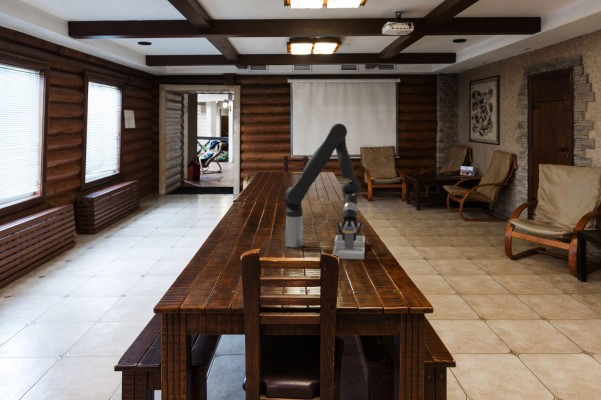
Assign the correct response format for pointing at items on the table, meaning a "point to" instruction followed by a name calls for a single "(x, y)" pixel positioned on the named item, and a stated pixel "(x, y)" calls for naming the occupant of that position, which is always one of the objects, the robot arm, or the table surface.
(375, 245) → the table surface
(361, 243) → the case
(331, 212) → the table surface
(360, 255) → the lid
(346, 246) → the module
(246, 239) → the table surface
